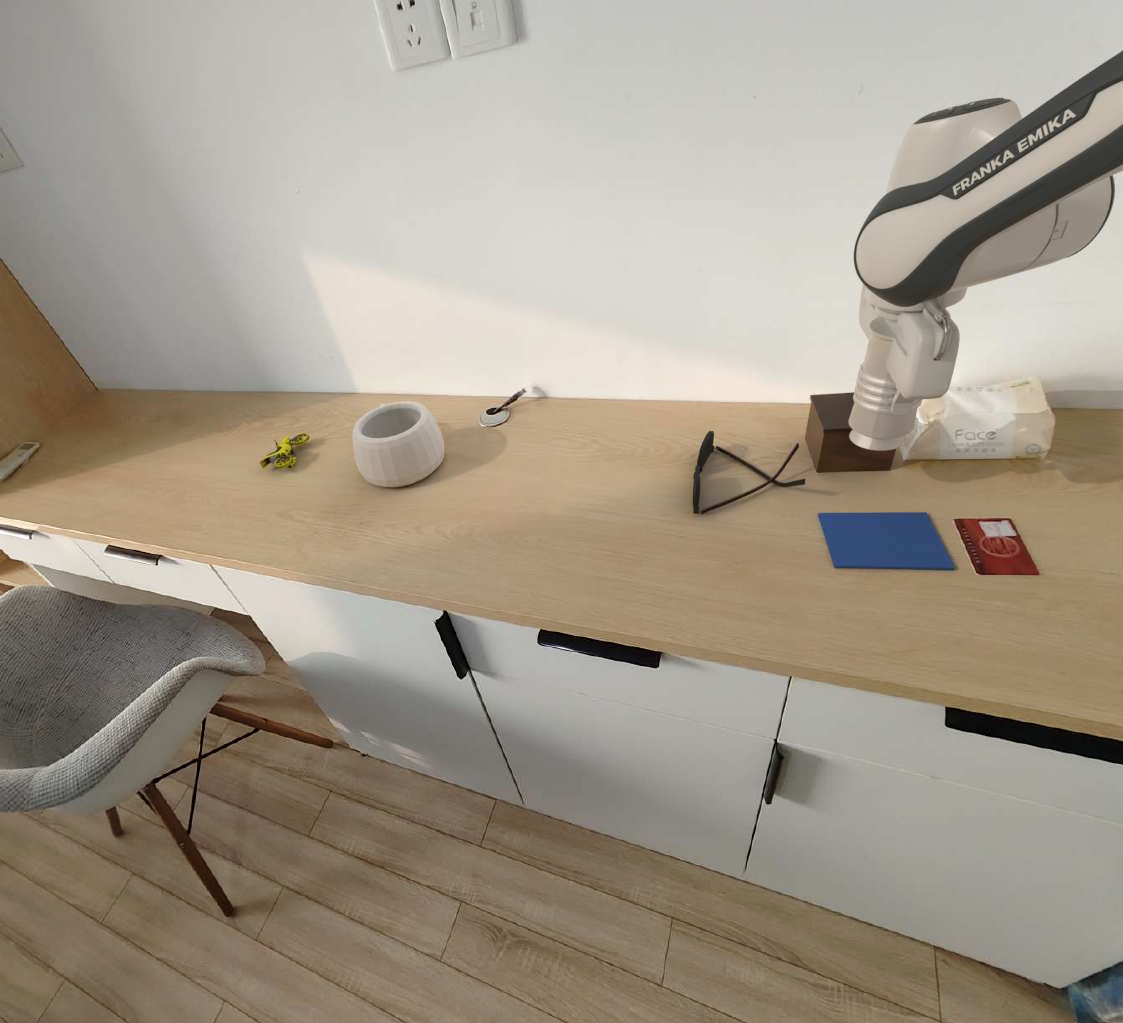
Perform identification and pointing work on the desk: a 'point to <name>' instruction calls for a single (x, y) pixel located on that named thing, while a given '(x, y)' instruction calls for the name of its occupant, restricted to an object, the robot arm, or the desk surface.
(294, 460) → the toy motorcycle
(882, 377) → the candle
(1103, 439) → the desk surface
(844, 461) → the box
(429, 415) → the white plant pot
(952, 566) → the cloth
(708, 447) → the sunglasses
